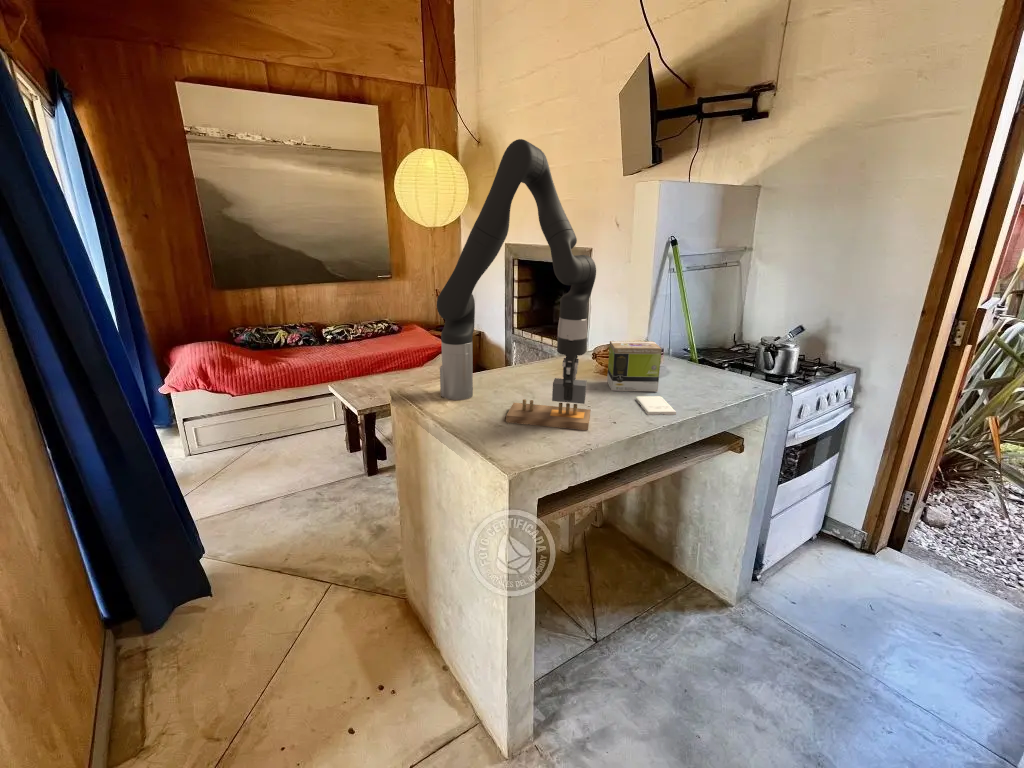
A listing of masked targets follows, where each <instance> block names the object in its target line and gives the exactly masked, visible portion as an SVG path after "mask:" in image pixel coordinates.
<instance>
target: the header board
mask: <svg viewBox="0 0 1024 768" xmlns="http://www.w3.org/2000/svg"><path fill="white" fill-rule="evenodd" d="M563 403H564V402H558V406H557V405H556V406H555V405H554V406H553V405H547V404H546V405H544V404H534V400H533V399H530V400H529V403H527V399H522V403H521V402H513V403H512V405H511V406H510V408H509V410H508V412H507V413H506V417H505V418H506V419H505V423H510V424H511V423H512V424H520V425H521V424H522V425H528V424H530V425H531V426H539V427H550V428H560V429H572V430H578V431H579V430H580V431H589V426H590V420H591V409H587V408H578V403H573V405H572V406H573V407H571V403H569V402H565V406H563ZM530 425H529V426H530Z"/></svg>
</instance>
